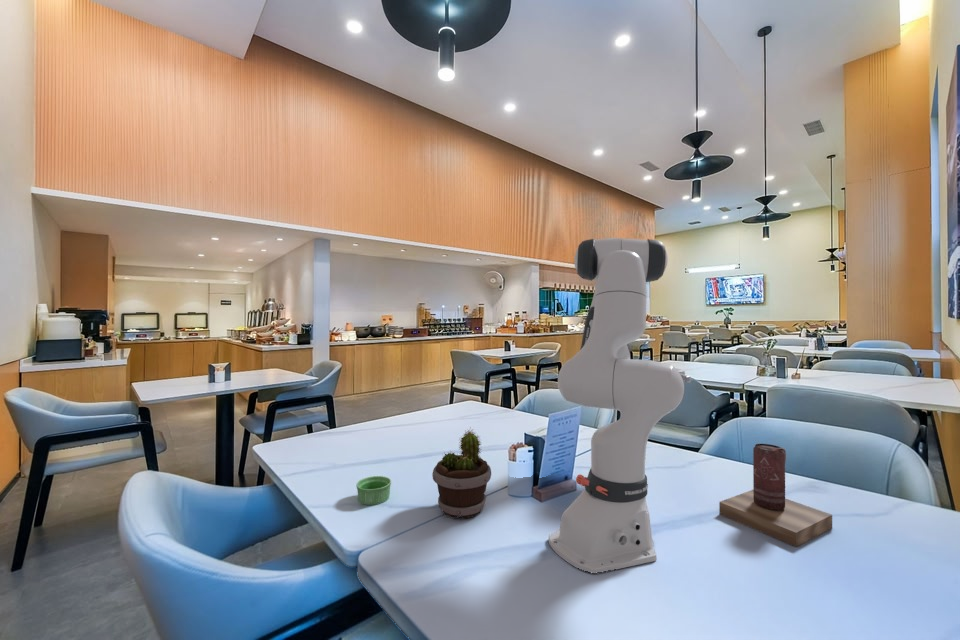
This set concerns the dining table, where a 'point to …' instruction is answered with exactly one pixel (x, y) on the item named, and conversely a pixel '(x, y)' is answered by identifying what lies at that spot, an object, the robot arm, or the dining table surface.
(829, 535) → the dining table surface
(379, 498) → the ramekin
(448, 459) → the flowerpot
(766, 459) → the can
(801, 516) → the walnut base
